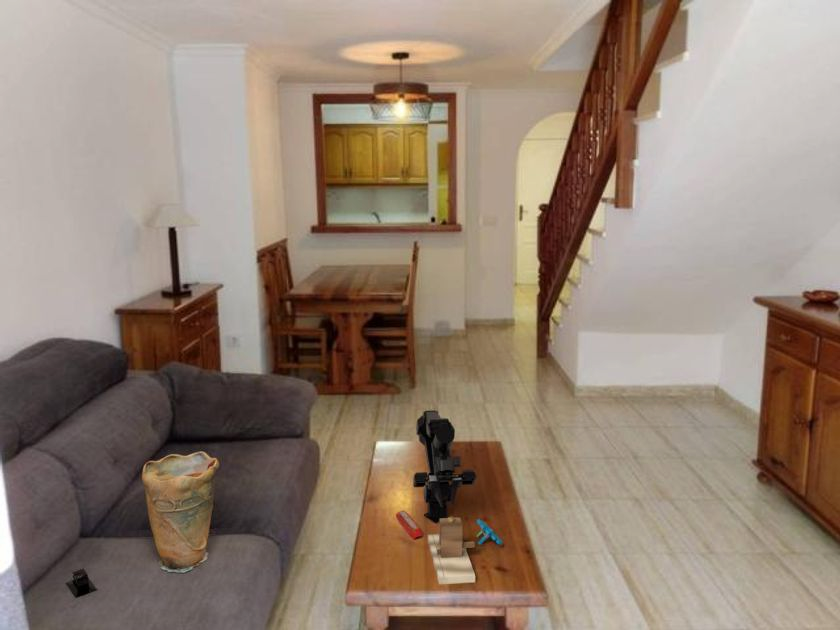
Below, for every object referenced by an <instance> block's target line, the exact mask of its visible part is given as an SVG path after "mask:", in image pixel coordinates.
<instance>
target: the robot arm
mask: <svg viewBox="0 0 840 630" xmlns="http://www.w3.org/2000/svg"><path fill="white" fill-rule="evenodd" d="M415 432H416V436H418V441H419V443H420V444H422V445H423V446H424V450H425V451H424V452H425V456H426V464H427V470H428V472H426V471H424V472H422V471H421V472H415V473H414V474H413V477H412V478H413V479H412V487H413V488H423V499H424V503H425V504H427V509H426V510H427V512H425V513H423V517H425V518H427V520H429V521H431V522H432V523H435V524H437V523H439V521H440V519H441V518H448V517H451V515H450V514H448V503H450V506H451V507H454V505H455V499H456V495H457V490H458V489H460V488H461V486H462V485H463V486H471V485H474V484H475V482H476V480H477V472H476V471H475V470H474V469H468V470H467V469H466V470H461V473H459V474H454V473H456V472H455V471H456V468H461V466H462V461H461V456H460V455H458V456H453V457H452V451H451V448H452V445H453V442H454V439H455V432H456V431H455V428H454V426H453V424H452V422H451V421H450V420H449V418H447V417H442V416H440V414H439V411H438V410H435V409H434V410H431V409H429V410H424V411H422V415H420V417H419V418H417V420H416V425H415ZM450 482H451V483H450Z"/></svg>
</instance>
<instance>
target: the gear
mask: <svg viewBox="0 0 840 630" xmlns="http://www.w3.org/2000/svg"><path fill="white" fill-rule="evenodd" d="M476 521H477V524H478V525H479V526H480V531H479V532H478V533H477V534H476V537H477V538H479V537H480V536H481V535H482V534H483V537H481V539H480V540H479V541H478V542H477V544H478V545H479V546H481V545H482V544H483V543H484V542H485V541H486V540H487V539H490V538H491V539H492V540H493V541H495V542H496V544H498V545H500V546H503V544H504V543H503V541H502V540H501V538H500V537H499V536H498V535H497V533H495V532H494V530H493V528H490V526H488V524H487V523H485V522H484V521H483V520H481V519H479V518H478V519H477V520H476Z"/></svg>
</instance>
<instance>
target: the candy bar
mask: <svg viewBox="0 0 840 630" xmlns="http://www.w3.org/2000/svg"><path fill="white" fill-rule="evenodd" d="M395 517H396V520H397V521H398V522H399V524H400V525H401V526H402V528H403V529H404V530H405V532H406V533H407V534H408V536H410V537H412V538H411V539H417V538H419V537H422V536H423V533H422V530H421V529H420V527H419V526H418V524H417V523H416V522H415V521H414V520H413V518H412V517H411V516H410V515H409V514H408V513H407V511H405V510H401V511H399V512H397V513H396V514H395Z"/></svg>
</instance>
